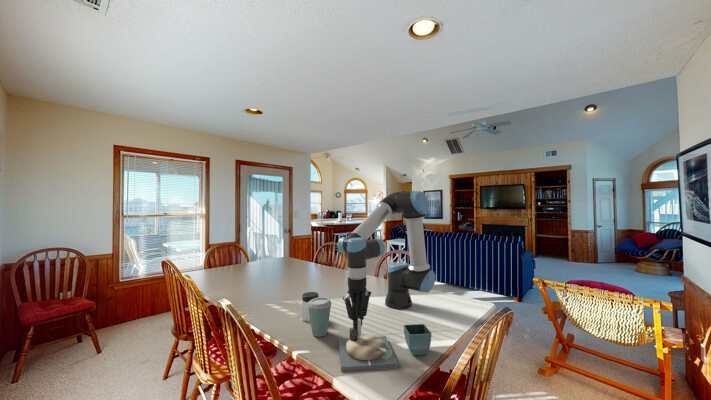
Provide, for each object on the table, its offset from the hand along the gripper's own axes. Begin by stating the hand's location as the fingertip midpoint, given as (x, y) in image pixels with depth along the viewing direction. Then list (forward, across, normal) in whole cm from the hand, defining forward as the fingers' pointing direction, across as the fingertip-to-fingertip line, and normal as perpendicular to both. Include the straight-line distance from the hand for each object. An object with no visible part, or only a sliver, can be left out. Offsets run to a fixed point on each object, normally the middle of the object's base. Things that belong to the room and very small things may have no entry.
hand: (357, 334), depth 111 cm
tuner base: (+5, +1, +6) cm, 8 cm away
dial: (+3, +1, +7) cm, 7 cm away
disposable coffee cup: (+5, +7, -19) cm, 21 cm away
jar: (+6, +3, -36) cm, 37 cm away
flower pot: (+5, -16, +17) cm, 24 cm away
